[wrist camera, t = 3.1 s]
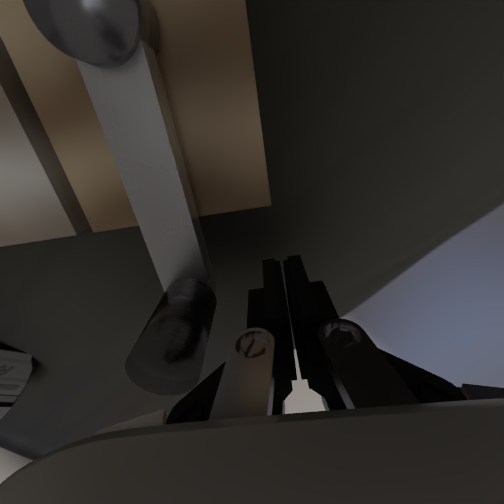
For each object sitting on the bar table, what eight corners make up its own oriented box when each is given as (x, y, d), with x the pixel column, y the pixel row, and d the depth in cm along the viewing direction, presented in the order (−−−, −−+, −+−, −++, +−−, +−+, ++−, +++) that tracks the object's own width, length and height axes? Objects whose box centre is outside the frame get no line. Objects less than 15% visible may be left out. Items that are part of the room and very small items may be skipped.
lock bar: (60, -20, 9) (-234, -248, 4) (143, -40, 9) (-40, -320, 3) (178, 305, 15) (136, 398, 10) (228, 299, 15) (212, 391, 10)
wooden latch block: (-250, 2, 13) (-501, -63, 9) (226, -128, 11) (206, -301, 7) (-64, 240, 19) (-157, 271, 15) (267, 188, 17) (271, 206, 13)
